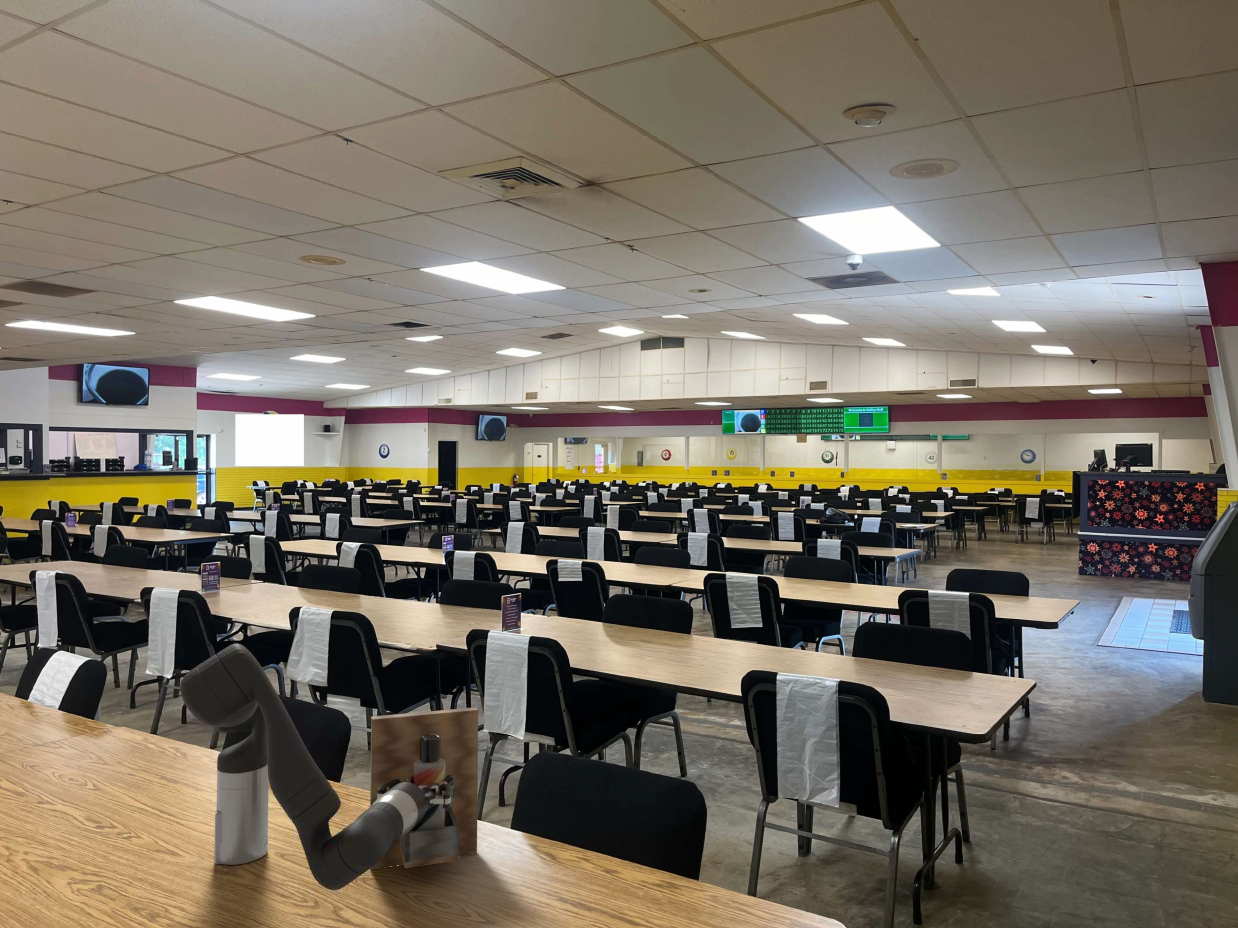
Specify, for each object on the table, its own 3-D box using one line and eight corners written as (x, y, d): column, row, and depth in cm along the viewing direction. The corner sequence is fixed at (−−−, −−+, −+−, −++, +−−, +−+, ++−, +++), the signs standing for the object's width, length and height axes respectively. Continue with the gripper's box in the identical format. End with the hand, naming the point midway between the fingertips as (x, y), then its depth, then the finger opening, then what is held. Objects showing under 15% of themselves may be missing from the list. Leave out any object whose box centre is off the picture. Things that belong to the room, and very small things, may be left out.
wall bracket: (374, 895, 147) (375, 734, 148) (369, 865, 159) (371, 716, 159) (487, 877, 154) (488, 724, 155) (475, 849, 166) (476, 707, 166)
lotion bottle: (415, 838, 158) (417, 730, 158) (446, 837, 158) (447, 730, 159) (410, 851, 152) (412, 739, 153) (442, 850, 152) (443, 739, 153)
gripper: (436, 793, 140) (471, 761, 157) (356, 787, 143) (399, 756, 159) (435, 838, 140) (470, 801, 157) (355, 832, 142) (398, 796, 159)
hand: (434, 779), depth 158 cm, fingers closed on lotion bottle, 5 cm apart
